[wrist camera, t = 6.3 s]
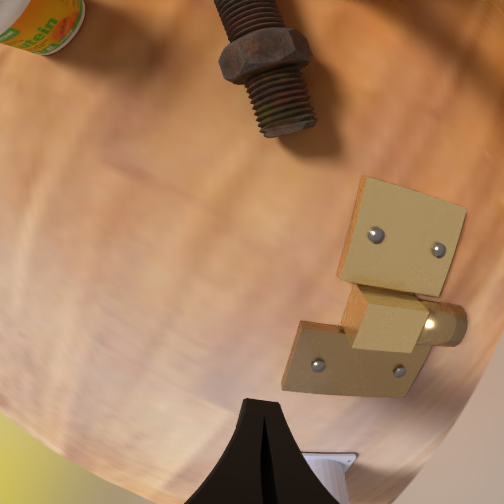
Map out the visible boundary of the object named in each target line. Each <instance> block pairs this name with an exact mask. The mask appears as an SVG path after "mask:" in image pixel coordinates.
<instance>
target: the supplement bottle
mask: <svg viewBox="0 0 504 504" xmlns="http://www.w3.org/2000/svg"><path fill="white" fill-rule="evenodd" d="M84 16H85V4H84V1H83V0H0V43H2V44H6V45H9V46H13V47H16V48H19V49H23V50H26V51H29V52H32V53H35V54H39V55H48V54H52V53H54V52H56V51H58V50H60V49H61V48H63V47H64V46H65V45H66V44H68V43H69V42H70V41H71V39H72V38H73V37H74V36H75V35H76V33H77V32H78V30H79V28H80V27H81V25H82V22H83V20H84Z"/></svg>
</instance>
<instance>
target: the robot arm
mask: <svg viewBox="0 0 504 504" xmlns="http://www.w3.org/2000/svg"><path fill="white" fill-rule="evenodd" d="M356 458H357V457H356V454H317V453H301V451H300V449H299V447H298V445H297V443H296V442H295V440H294V438H293V436H292V433H291V431H290V429H289V427H288V425H287V422H286V420H285V417H284V415H283V412H282V409H281V406H280V404H279V403H278V402H271V401H263V400H256V399H249V398H246V399H244V400H243V403H242V406H241V410H240V414H239V418H238V421H237V425H236V429H235V431H234V434H233V436H232V438H231V440H230V442H229V444H228V446H227V447H226V449H225V451H224V453H223V455H222V456H221V458H220V459H219V461H218V463H217V464H216V466H215V467H214V468H213V470H212V471H211V473H210V474H209V475H208V477H207V478H206V479H205V481H204V482H203V483H202V484H201V486H200V487H199V488H198V489H197V490H196V491H195V493H194V494H193V495H192V496H191V497H190V498H189V499H188V500H187V501H186V502H185V503H184V504H350V501H349V495H348V490H347V485H346V481H345V476H344V474H345V472H346V471H347V470H348V469H349V467H350V466H351V465H352V463H353V462H354V461H355V459H356Z"/></svg>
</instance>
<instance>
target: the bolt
mask: <svg viewBox="0 0 504 504" xmlns="http://www.w3.org/2000/svg"><path fill="white" fill-rule="evenodd" d="M214 3H215V5H216V8H217V10H218V12H219V16H220V17H221V21H222V22H223V23H222V24H223V26H224V27H225V28H224V29H225V31H226V34H227V36H228V40H229V41H230V44H229V45H228V46H226V47H225V49H224V50H223V52H222V54H221V56H220V59H219V61H218V62H219V65H220V68H221V71H222V73H223V76H224V79H226V80H228V81H230V82H232V83H234V84H237V85H243V84H245V88H248V90H247V93H249V94H250V95H249V97H248V98H250V99H252V101H251V104H254V106H253V108H252V109H253V110H256V112H255V114H254V115H256V116H258V118H257V119H256V121H258V122H260V123H259V124H258V127H261V130H260V131H259V132H261V133H264V137H267V138H273V137H277V136H281V135H284V134H288V133H292V132H296V131H300V130H303V129H307V128H311V127H314V125H315V123H316V121H317V120H318V119H316V118H314V116H315V114H316V113H314V112H312V110H313V109H314V108H313V107H311V106H310V105H311V103H312V102H311V101H309V100H308V99H309V98H310V96H309V95H307V94H306V93H307V92H308V90H306V89H305V87H306V84H304V83H302V82H303V81H304V80H305V79H304V78H302V77H301V76H302V74H303V73H301V72H299V71H300V69H301V68H303V67H305V66H306V65H307V64H308V63H309V61H310V60H311V58H312V56H313V55H312V53H311V50H310V47H309V45H308V42H307V39H306V38H305V37H304V36H303V35H302V34H301V33H300V32H298V31H297V30H296V29H293V28H285V25H284V24H283V23H284V21H283V20H282V19H281V18H282V16H281V15H280V14H279V13H280V11H279V10H278V7H277V5H276V2H275V1H274V0H214Z"/></svg>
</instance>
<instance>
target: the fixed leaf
mask: <svg viewBox="0 0 504 504" xmlns="http://www.w3.org/2000/svg"><path fill="white" fill-rule="evenodd" d="M418 300H419V301H420V302H421V303H422V304H423V305H424V307H425V308H426V309H427V310H428V311H429V315H428V317H427V319H426V322H425V324H424V326H423V328H422V331H421V333H420V335H419V337H418V339H417V342H416V344H415V346H414V348H413V350H412V352H411V353H403V352H389V351H377V350H366V349H356V348H351V345H350V343H349V341H348V338H347V336H346V334H345V331H344V329H343V326H335V325H328V324H321V323H314V322H307V321H300V324H299V327H298V330H297V334H296V337H295V340H294V344H293V347H292V350H291V353H290V356H289V360H288V363H287V366H286V369H285V372H284V375H283V378H282V381H281V385H282V390H283V391H292V392H302V393H313V394H326V395H341V396H362V397H405V395H406V393H407V392H408V390H409V388H410V386H411V385H412V383H413V381H414V379H415V378H416V376H417V374H418V372H419V370H420V368H421V366H422V365H423V363H424V361H425V359H426V357H427V355H428V353H429V351H430V349H431V347H432V346H443V347H455V346H457V345H458V344H459V343H460V342H461V341H462V340H463V338H464V336H465V333H466V330H467V315H466V312H465V310H464V309H463V308H462V307H461V306H459V305H453V304H446V303H439V302H433V301H426V300H420V299H418Z"/></svg>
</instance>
